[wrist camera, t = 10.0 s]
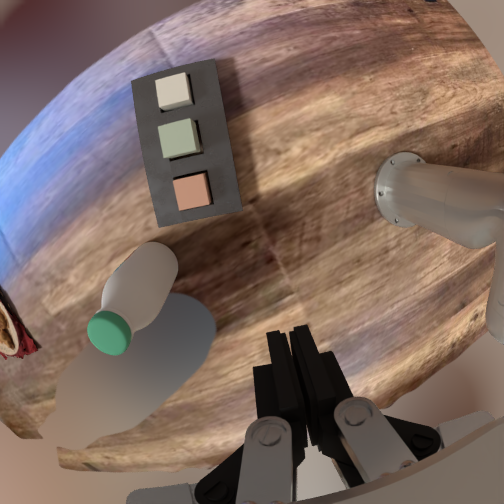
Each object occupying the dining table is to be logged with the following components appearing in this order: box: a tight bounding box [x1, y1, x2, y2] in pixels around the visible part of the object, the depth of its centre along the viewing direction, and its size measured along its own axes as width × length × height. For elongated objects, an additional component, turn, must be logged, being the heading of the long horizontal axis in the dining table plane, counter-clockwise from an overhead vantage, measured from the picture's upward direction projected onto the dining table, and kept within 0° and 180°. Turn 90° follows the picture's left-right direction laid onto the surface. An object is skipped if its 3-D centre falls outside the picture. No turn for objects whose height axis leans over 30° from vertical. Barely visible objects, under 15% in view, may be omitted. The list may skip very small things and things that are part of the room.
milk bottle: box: [87, 242, 178, 355], centre depth 32 cm, size 8×8×20 cm
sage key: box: [158, 118, 200, 158], centre depth 32 cm, size 4×4×4 cm
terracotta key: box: [173, 172, 212, 211], centre depth 36 cm, size 4×4×4 cm
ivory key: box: [155, 72, 194, 112], centre depth 32 cm, size 4×4×4 cm
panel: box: [131, 59, 243, 228], centre depth 35 cm, size 12×22×3 cm, turn 10°
